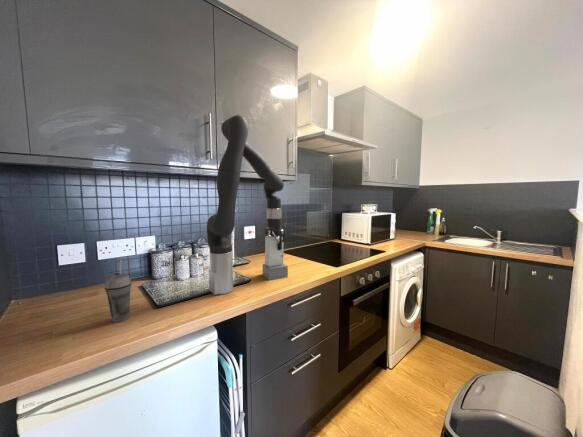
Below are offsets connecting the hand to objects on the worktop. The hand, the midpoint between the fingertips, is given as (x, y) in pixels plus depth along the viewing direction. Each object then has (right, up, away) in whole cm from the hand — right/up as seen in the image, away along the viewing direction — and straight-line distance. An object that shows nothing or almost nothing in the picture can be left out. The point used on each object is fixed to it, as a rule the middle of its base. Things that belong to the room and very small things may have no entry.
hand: (274, 248), depth 120 cm
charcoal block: (0, -14, +1) cm, 14 cm away
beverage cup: (-49, -18, -42) cm, 67 cm away
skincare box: (0, -8, +1) cm, 9 cm away
